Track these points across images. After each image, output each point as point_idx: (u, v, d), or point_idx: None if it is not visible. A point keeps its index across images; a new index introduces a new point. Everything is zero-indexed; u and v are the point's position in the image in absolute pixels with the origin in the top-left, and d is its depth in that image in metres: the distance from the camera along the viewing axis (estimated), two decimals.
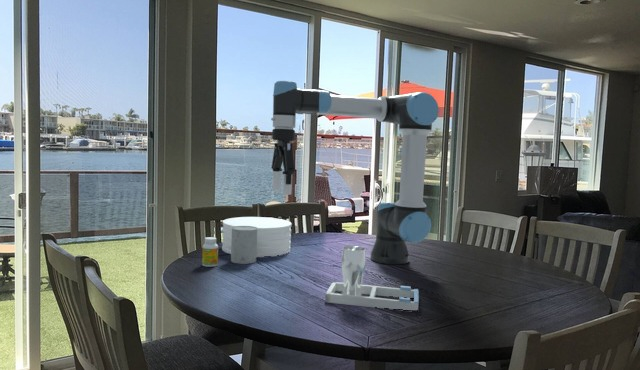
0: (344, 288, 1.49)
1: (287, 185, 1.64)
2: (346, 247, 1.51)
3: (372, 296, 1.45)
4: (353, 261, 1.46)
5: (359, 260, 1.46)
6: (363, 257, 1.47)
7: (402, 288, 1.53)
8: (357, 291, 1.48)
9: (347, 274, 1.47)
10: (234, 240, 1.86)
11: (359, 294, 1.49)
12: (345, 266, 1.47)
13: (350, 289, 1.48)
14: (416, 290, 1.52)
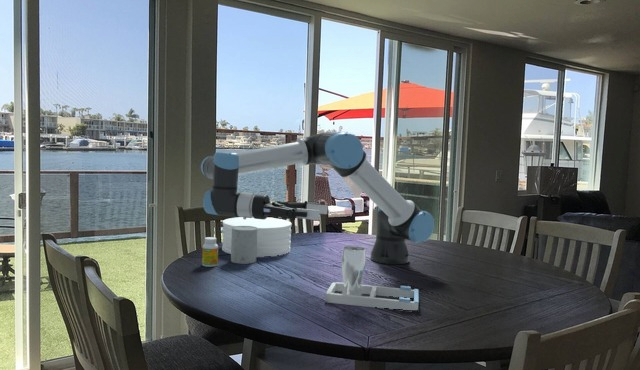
0: (344, 288, 1.49)
1: (308, 214, 1.44)
2: (346, 247, 1.51)
3: (372, 296, 1.45)
4: (353, 261, 1.46)
5: (359, 260, 1.46)
6: (363, 257, 1.47)
7: (402, 288, 1.53)
8: (357, 291, 1.48)
9: (347, 274, 1.47)
10: (234, 240, 1.86)
11: (359, 294, 1.49)
12: (345, 266, 1.47)
13: (350, 289, 1.48)
14: (416, 290, 1.52)
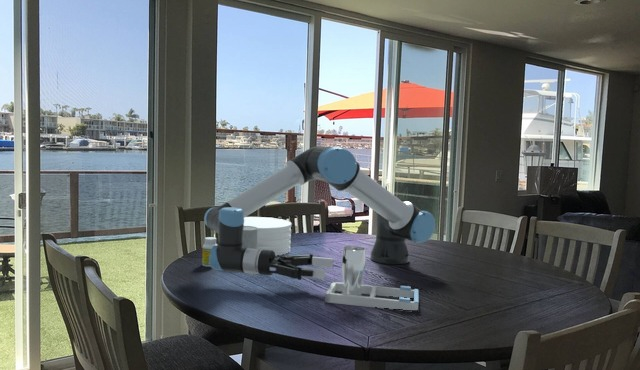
0: (344, 288, 1.49)
1: (314, 273, 1.44)
2: (346, 247, 1.51)
3: (372, 296, 1.45)
4: (353, 261, 1.46)
5: (359, 260, 1.46)
6: (363, 257, 1.47)
7: (402, 288, 1.53)
8: (357, 291, 1.48)
9: (347, 274, 1.47)
10: None
11: (359, 294, 1.49)
12: (345, 266, 1.47)
13: (350, 289, 1.48)
14: (416, 290, 1.52)
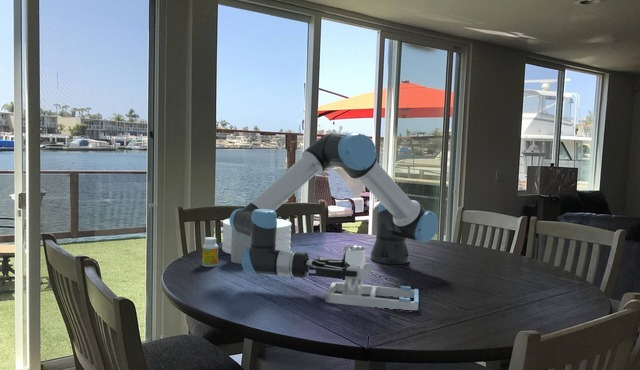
0: (344, 288, 1.49)
1: (358, 274, 1.45)
2: (346, 247, 1.51)
3: (372, 296, 1.45)
4: (353, 261, 1.46)
5: (359, 260, 1.46)
6: (363, 257, 1.47)
7: (402, 288, 1.53)
8: (357, 291, 1.48)
9: None
10: (234, 240, 1.86)
11: (359, 294, 1.49)
12: (345, 266, 1.47)
13: (350, 289, 1.48)
14: (416, 290, 1.52)
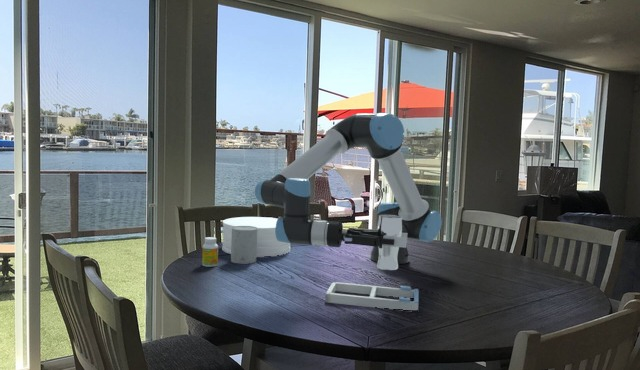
0: (380, 257, 1.46)
1: (395, 242, 1.42)
2: (382, 216, 1.48)
3: (372, 296, 1.45)
4: (390, 229, 1.43)
5: (396, 228, 1.43)
6: (400, 225, 1.44)
7: (402, 288, 1.53)
8: (393, 260, 1.45)
9: None
10: (234, 240, 1.86)
11: (395, 263, 1.46)
12: (381, 234, 1.44)
13: (387, 258, 1.45)
14: (416, 290, 1.52)
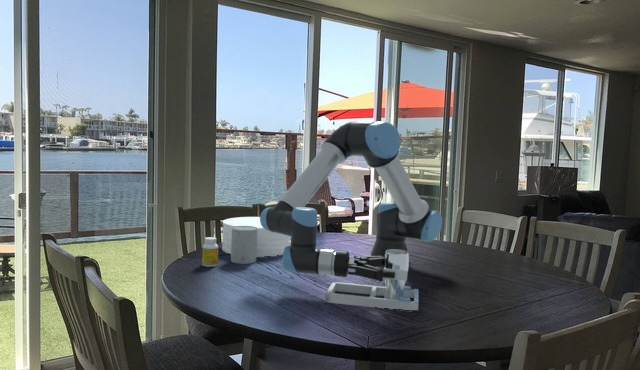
0: (387, 292, 1.47)
1: (396, 275, 1.40)
2: (388, 251, 1.49)
3: (372, 296, 1.45)
4: (397, 265, 1.44)
5: (403, 264, 1.44)
6: (407, 261, 1.45)
7: None
8: (400, 295, 1.46)
9: None
10: (234, 240, 1.86)
11: None
12: None
13: (394, 293, 1.46)
14: (416, 290, 1.52)
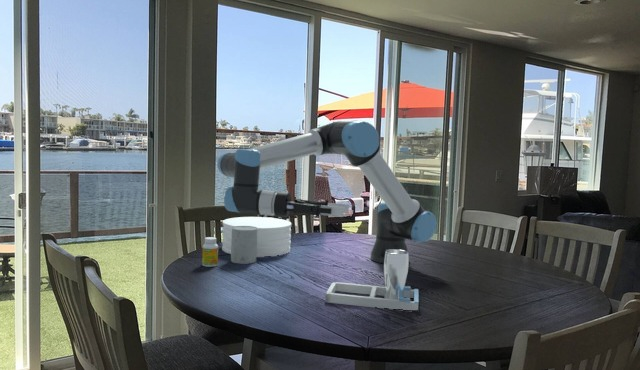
0: (387, 292, 1.47)
1: (332, 211, 1.43)
2: (388, 251, 1.49)
3: (372, 296, 1.45)
4: (397, 265, 1.44)
5: (403, 264, 1.44)
6: (406, 261, 1.45)
7: None
8: (400, 295, 1.46)
9: (390, 278, 1.45)
10: (234, 240, 1.86)
11: None
12: (388, 270, 1.45)
13: (394, 293, 1.46)
14: (416, 290, 1.52)
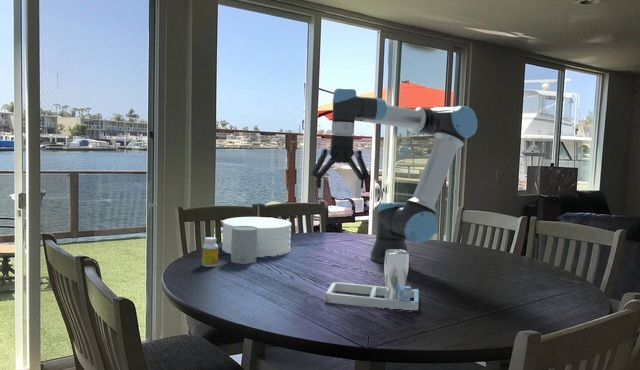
0: (387, 292, 1.47)
1: None
2: (388, 251, 1.49)
3: (372, 296, 1.45)
4: (397, 265, 1.44)
5: (403, 264, 1.44)
6: (407, 261, 1.45)
7: None
8: (400, 295, 1.46)
9: (390, 278, 1.45)
10: (234, 240, 1.86)
11: None
12: (388, 270, 1.45)
13: (394, 293, 1.46)
14: (416, 290, 1.52)
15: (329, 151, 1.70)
